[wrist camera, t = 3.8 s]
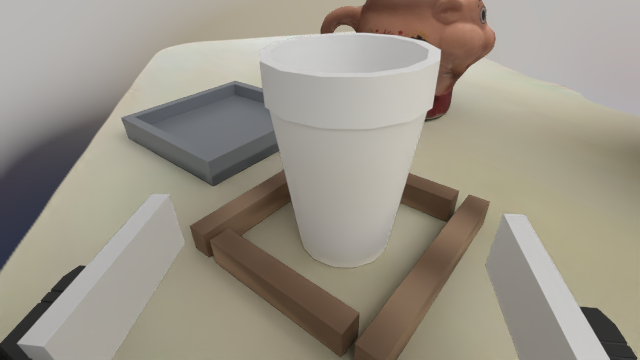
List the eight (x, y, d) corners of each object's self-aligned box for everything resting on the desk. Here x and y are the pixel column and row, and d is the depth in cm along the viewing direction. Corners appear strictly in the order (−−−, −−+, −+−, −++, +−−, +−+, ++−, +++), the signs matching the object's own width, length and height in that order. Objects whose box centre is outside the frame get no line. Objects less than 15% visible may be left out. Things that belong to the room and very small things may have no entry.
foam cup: (258, 225, 26) (230, 47, 19) (352, 184, 31) (358, 27, 23) (331, 313, 20) (329, 93, 13) (438, 246, 24) (482, 53, 17)
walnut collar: (327, 162, 34) (326, 144, 33) (483, 223, 26) (490, 201, 25) (196, 247, 24) (189, 226, 23) (379, 386, 16) (382, 363, 15)
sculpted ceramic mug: (312, 123, 42) (307, -7, 34) (327, 89, 52) (326, -16, 44) (486, 132, 39) (524, -8, 31) (467, 95, 49) (492, -18, 41)
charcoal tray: (238, 98, 50) (235, 80, 48) (324, 125, 41) (324, 105, 40) (128, 138, 39) (121, 117, 38) (213, 186, 31) (207, 162, 30)
